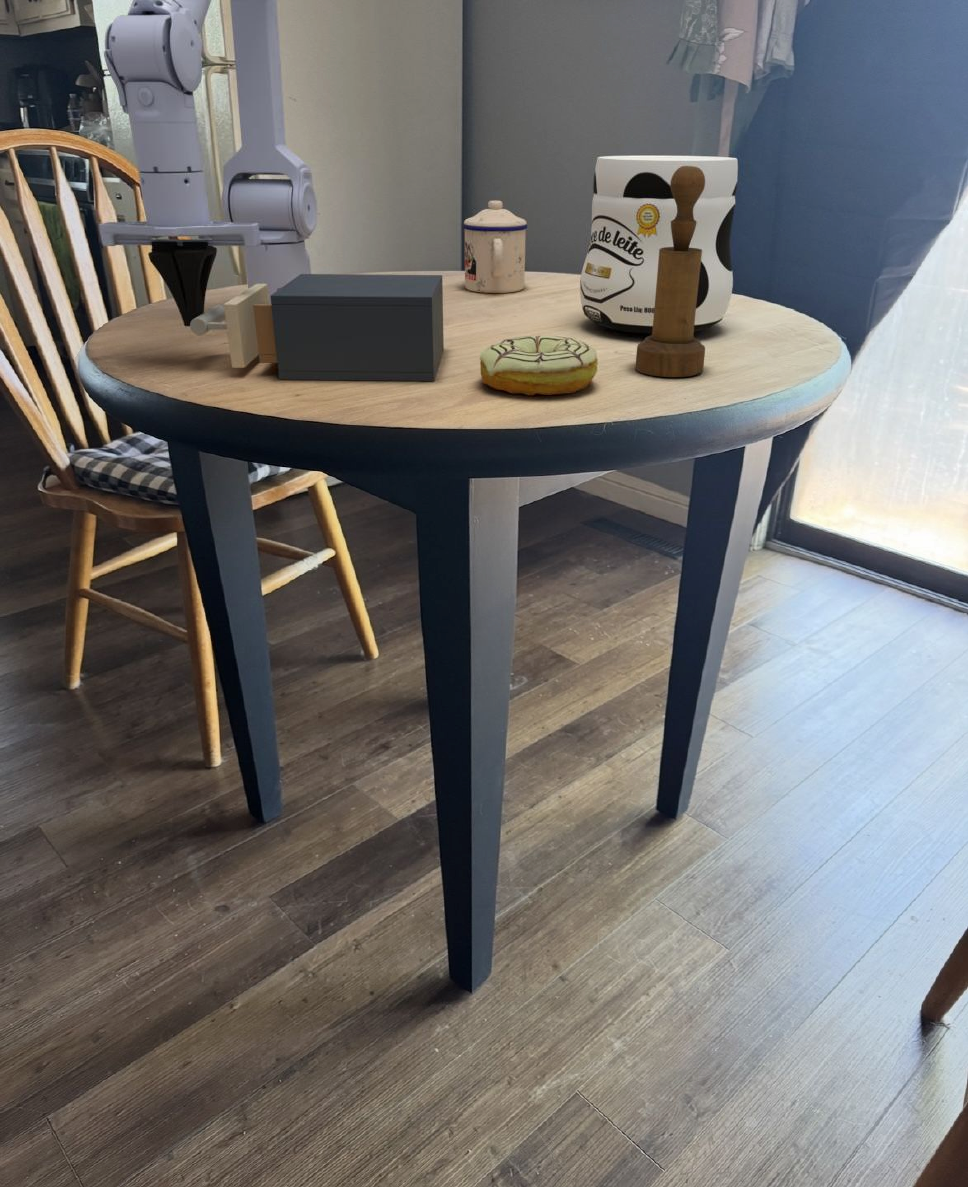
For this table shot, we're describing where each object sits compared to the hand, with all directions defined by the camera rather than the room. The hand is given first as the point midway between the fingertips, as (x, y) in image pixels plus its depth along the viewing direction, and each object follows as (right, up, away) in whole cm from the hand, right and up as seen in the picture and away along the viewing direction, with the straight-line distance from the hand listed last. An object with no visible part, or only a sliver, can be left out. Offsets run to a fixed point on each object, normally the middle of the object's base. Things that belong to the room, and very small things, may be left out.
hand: (194, 324), depth 86 cm
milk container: (+48, +5, +17) cm, 52 cm away
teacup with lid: (+30, +17, +40) cm, 53 cm away
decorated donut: (+34, -7, -5) cm, 35 cm away
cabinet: (+17, -4, +1) cm, 17 cm away
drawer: (+10, -3, +1) cm, 10 cm away
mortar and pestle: (+47, -5, 0) cm, 47 cm away
